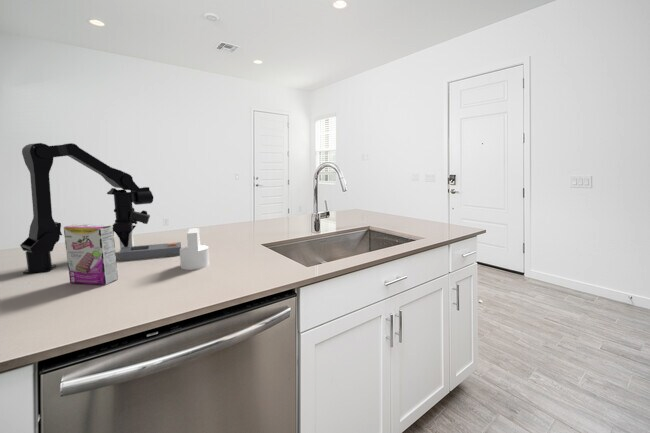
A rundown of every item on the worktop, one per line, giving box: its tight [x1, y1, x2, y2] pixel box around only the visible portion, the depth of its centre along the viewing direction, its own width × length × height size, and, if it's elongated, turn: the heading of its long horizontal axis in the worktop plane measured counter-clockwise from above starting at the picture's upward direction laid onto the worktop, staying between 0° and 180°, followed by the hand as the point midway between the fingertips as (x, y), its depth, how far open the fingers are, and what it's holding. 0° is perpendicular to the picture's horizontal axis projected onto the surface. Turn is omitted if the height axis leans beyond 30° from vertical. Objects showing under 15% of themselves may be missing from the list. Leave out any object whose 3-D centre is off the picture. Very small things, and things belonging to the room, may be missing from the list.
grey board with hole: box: [117, 242, 182, 262], centre depth 119 cm, size 9×26×4 cm, turn 116°
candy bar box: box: [63, 223, 119, 286], centre depth 88 cm, size 11×5×16 cm, turn 84°
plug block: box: [119, 230, 135, 251], centre depth 121 cm, size 4×4×8 cm
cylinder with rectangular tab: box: [179, 227, 210, 271], centre depth 104 cm, size 9×9×12 cm
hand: (127, 245), depth 121 cm, fingers closed on plug block, 4 cm apart
